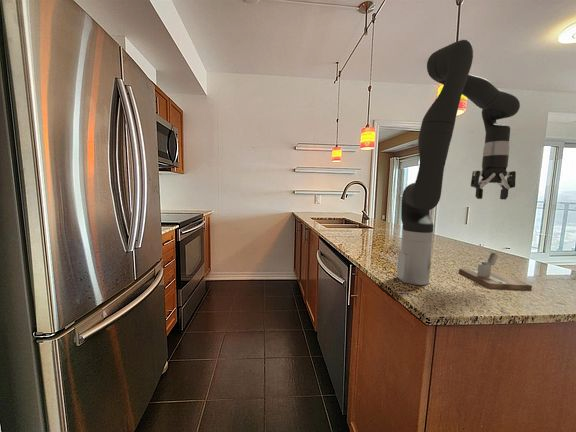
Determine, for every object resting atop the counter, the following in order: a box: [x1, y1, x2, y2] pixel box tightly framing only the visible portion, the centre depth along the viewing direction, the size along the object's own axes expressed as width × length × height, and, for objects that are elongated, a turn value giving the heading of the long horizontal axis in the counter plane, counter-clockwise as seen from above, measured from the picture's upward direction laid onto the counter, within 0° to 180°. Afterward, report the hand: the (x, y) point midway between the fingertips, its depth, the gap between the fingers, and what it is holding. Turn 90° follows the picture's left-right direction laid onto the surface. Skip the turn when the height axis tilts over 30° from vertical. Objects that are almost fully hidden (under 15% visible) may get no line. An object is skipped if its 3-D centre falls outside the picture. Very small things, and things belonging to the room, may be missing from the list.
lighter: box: [477, 252, 499, 277], centre depth 90 cm, size 7×2×8 cm, turn 108°
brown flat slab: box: [458, 268, 533, 291], centre depth 90 cm, size 13×16×2 cm
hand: (491, 199), depth 97 cm, fingers open, 8 cm apart
